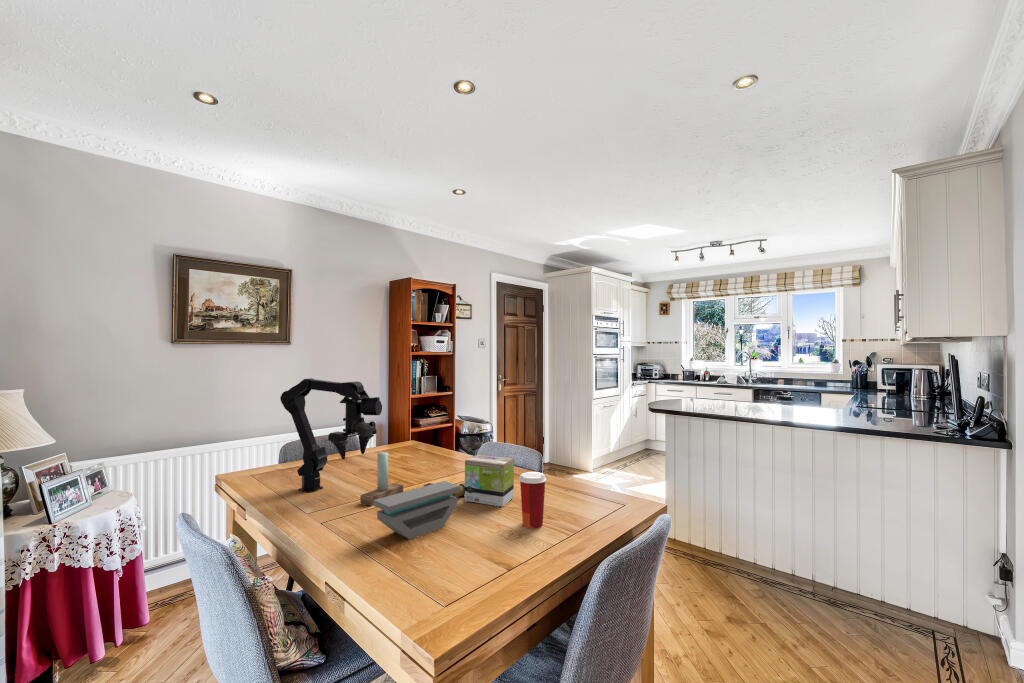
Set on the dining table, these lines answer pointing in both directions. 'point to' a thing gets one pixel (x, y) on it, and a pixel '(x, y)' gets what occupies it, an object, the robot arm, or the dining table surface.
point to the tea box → (489, 480)
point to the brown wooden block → (380, 494)
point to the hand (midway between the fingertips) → (353, 456)
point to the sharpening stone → (418, 509)
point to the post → (382, 472)
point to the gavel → (456, 494)
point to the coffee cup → (532, 498)
